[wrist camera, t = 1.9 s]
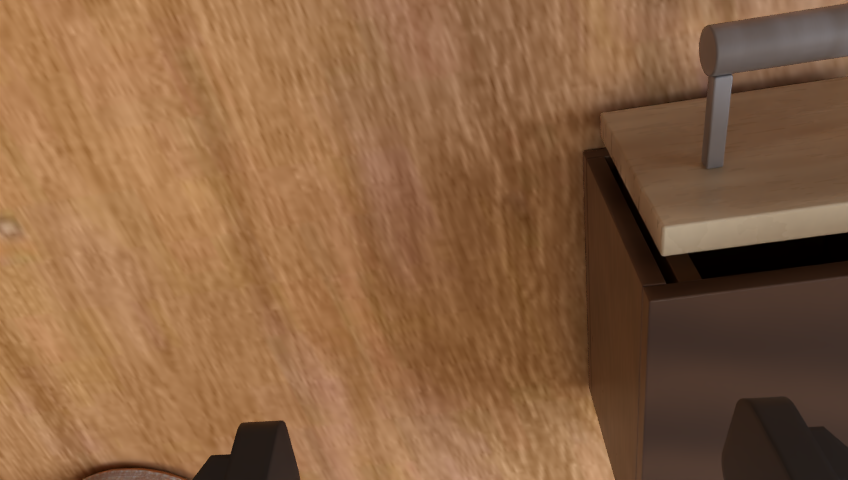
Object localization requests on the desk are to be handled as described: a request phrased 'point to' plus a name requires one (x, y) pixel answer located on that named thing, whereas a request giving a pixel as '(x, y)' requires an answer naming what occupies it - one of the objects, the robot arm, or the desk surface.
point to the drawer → (743, 156)
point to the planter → (133, 475)
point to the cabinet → (699, 344)
